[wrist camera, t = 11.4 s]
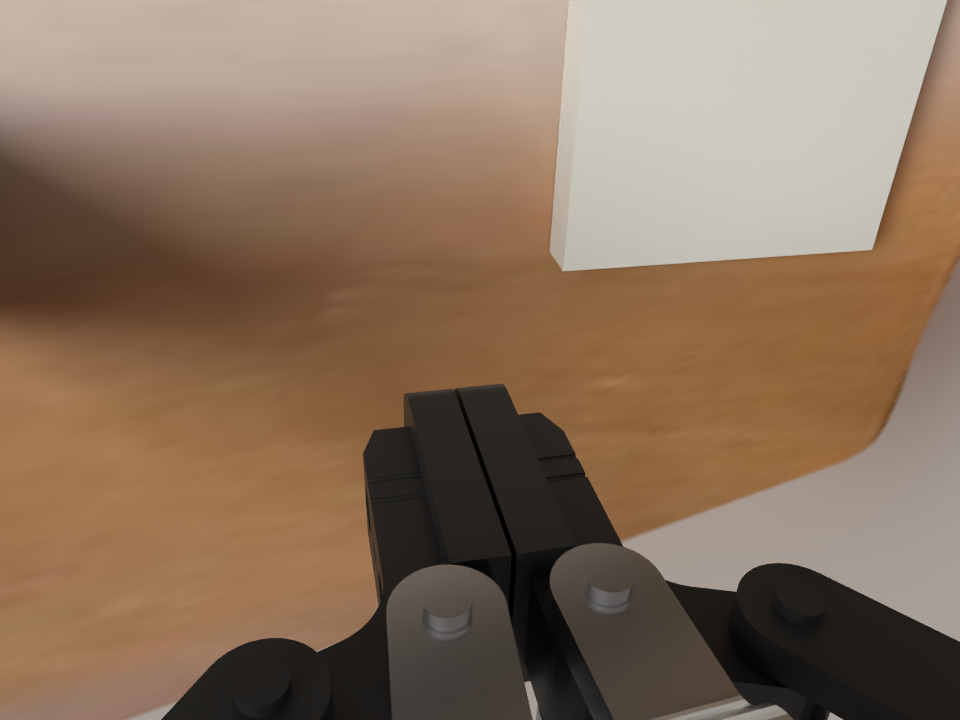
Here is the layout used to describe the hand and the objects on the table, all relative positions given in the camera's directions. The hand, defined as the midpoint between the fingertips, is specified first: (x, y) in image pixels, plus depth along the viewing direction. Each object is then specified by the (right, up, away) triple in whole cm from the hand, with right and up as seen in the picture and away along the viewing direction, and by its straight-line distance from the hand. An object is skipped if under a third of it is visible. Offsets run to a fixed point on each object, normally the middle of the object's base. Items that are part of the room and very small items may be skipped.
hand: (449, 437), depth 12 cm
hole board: (+13, +18, +27) cm, 35 cm away
